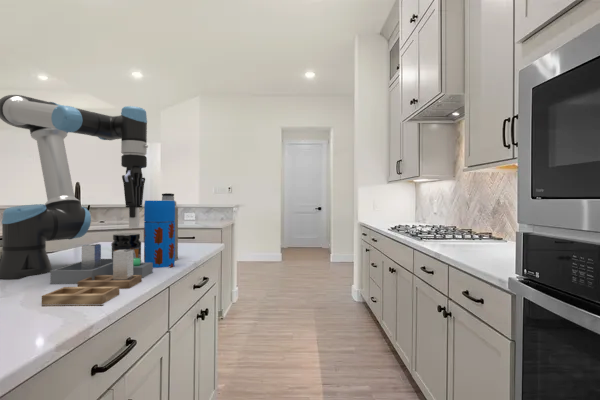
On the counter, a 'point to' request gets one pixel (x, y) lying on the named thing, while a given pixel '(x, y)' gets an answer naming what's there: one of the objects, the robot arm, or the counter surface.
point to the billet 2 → (123, 264)
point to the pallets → (89, 291)
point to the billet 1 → (91, 256)
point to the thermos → (159, 233)
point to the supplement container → (127, 243)
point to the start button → (136, 261)
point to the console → (143, 269)
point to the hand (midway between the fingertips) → (134, 227)
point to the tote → (79, 272)
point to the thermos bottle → (171, 198)
